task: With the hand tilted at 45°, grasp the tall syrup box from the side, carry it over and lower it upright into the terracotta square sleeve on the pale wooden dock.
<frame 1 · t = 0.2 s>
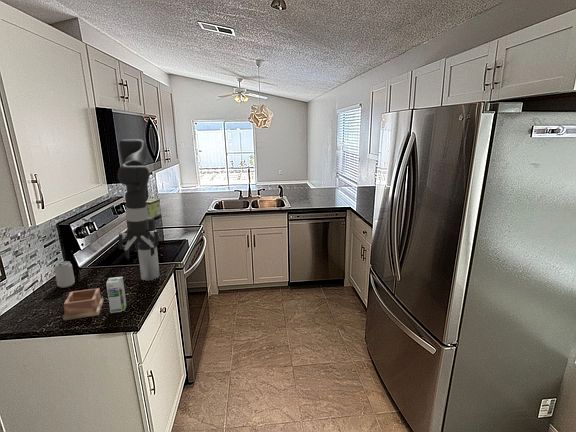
hand: (140, 256, 133), 29 cm above the countertop, tool pointing down, fingers open, 8 cm apart
syrup box: (118, 309, 148), on the countertop
dock: (84, 310, 147), on the countertop
protein box: (151, 217, 295), on the countertop
can: (66, 285, 170), on the countertop
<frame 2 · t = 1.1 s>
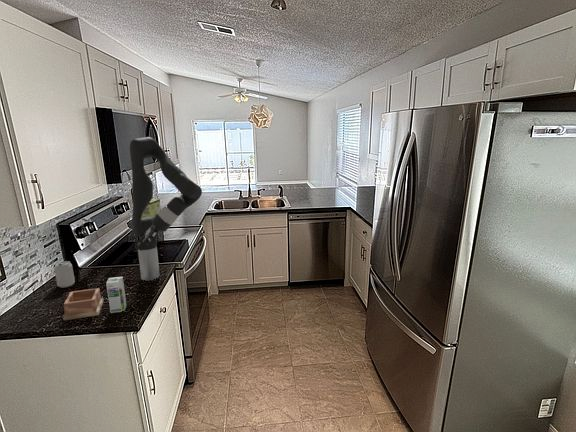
hand: (139, 245, 145), 29 cm above the countertop, tool tilted 45°, fingers open, 8 cm apart
nothing on the countertop moved.
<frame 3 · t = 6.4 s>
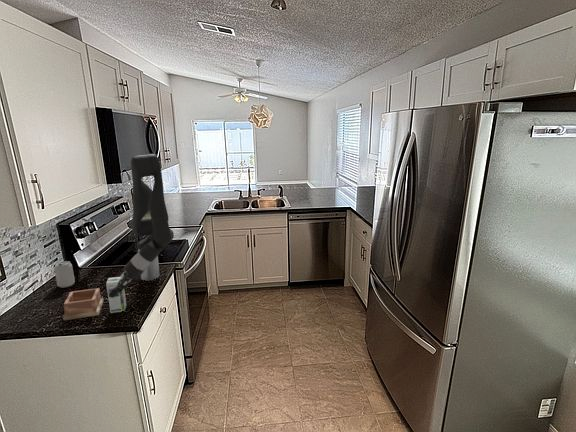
hand: (111, 292, 146), 8 cm above the countertop, tool tilted 45°, fingers closed on syrup box, 6 cm apart
syrup box: (118, 309, 148), on the countertop, touching gripper
everything else where it was.
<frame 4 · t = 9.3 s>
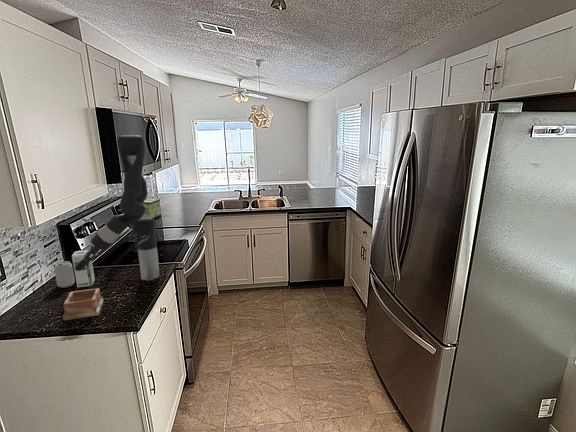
hand: (78, 266, 141), 21 cm above the countertop, tool tilted 45°, fingers closed on syrup box, 6 cm apart
syrup box: (86, 284, 144), point 12 cm above the countertop, touching gripper
everything else where it was.
when the fingers open (11 cm above the countertop, at t = 12.4 s): syrup box drops 1 cm, resting on dock.
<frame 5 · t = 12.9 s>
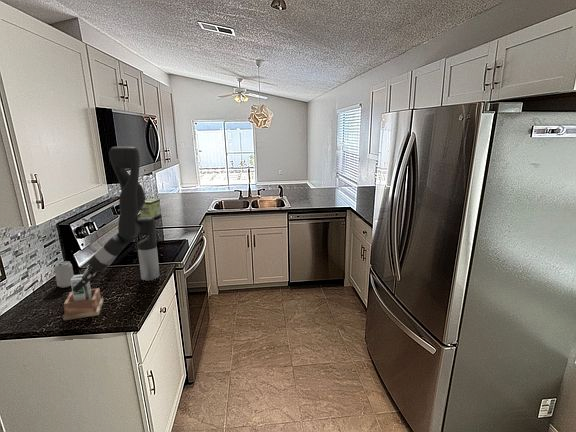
hand: (77, 286, 144), 12 cm above the countertop, tool tilted 45°, fingers open, 8 cm apart
syrup box: (84, 307, 147), point 1 cm above the countertop, touching dock
everything else where it was.
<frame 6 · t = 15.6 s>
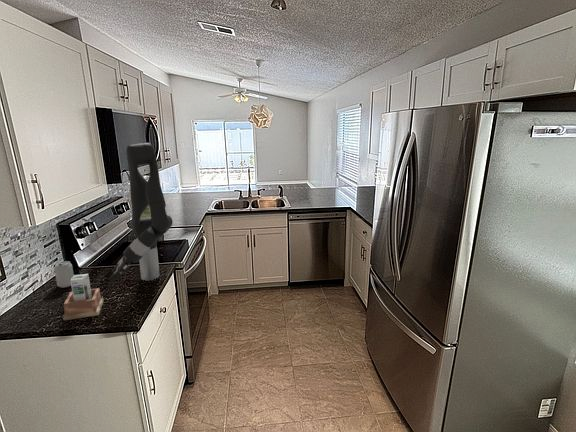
hand: (111, 276, 148), 14 cm above the countertop, tool tilted 45°, fingers open, 8 cm apart
nothing on the countertop moved.
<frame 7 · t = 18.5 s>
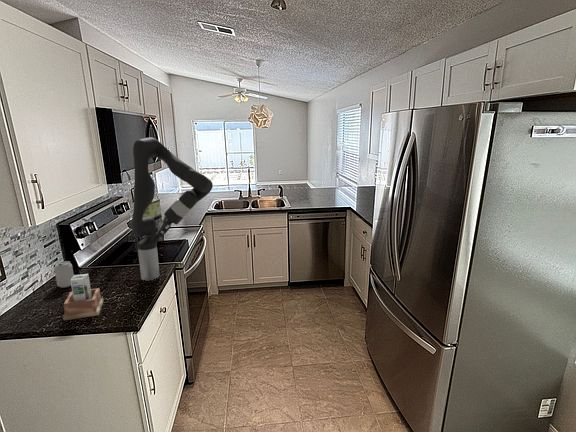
hand: (152, 238, 147), 31 cm above the countertop, tool tilted 45°, fingers open, 8 cm apart
nothing on the countertop moved.
at the end: syrup box 0.2 cm off-centre on the dock, point 1.3 cm above the dock's base; syrup box tilted 0°; the gripper is holding nothing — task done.
